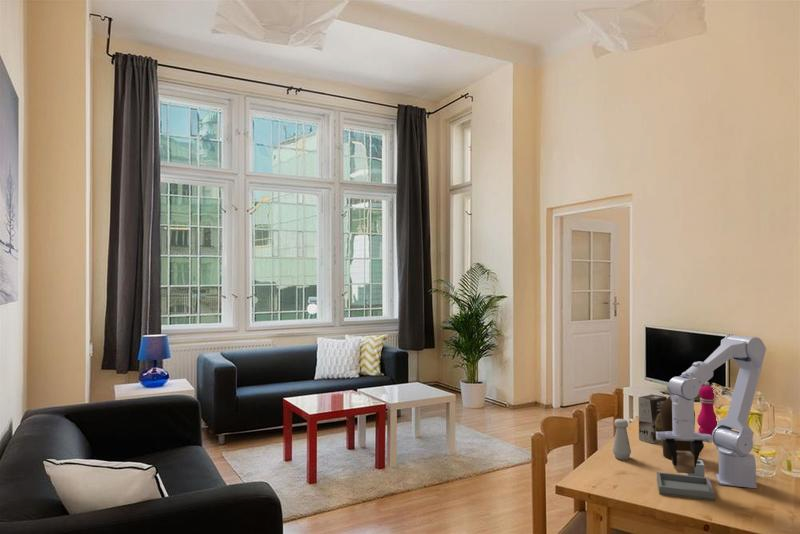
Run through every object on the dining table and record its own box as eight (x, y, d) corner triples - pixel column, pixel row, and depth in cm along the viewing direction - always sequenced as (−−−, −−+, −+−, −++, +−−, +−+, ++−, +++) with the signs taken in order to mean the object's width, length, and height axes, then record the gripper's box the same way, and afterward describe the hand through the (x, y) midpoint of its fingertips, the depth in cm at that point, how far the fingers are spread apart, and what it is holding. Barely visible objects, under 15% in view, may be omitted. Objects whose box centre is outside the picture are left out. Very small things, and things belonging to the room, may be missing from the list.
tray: (708, 485, 165) (708, 477, 165) (715, 500, 154) (714, 492, 154) (656, 479, 171) (656, 471, 171) (659, 494, 159) (659, 486, 160)
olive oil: (663, 460, 187) (661, 386, 187) (659, 450, 197) (658, 379, 197) (698, 463, 183) (697, 387, 183) (693, 453, 193) (691, 381, 193)
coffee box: (654, 444, 204) (653, 400, 204) (638, 439, 209) (637, 396, 210) (668, 439, 209) (667, 396, 209) (652, 435, 214) (651, 393, 215)
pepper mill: (694, 430, 220) (693, 379, 220) (713, 430, 219) (713, 379, 219) (701, 435, 213) (700, 383, 213) (721, 436, 212) (721, 383, 212)
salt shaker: (632, 461, 187) (631, 422, 187) (614, 460, 188) (613, 421, 188) (628, 455, 192) (628, 417, 192) (611, 454, 194) (610, 417, 194)
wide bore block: (702, 476, 172) (702, 460, 172) (704, 481, 168) (704, 465, 168) (686, 474, 174) (686, 458, 174) (687, 479, 170) (687, 463, 170)
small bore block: (690, 468, 164) (690, 451, 164) (694, 473, 160) (694, 456, 160) (673, 467, 165) (673, 450, 165) (677, 472, 161) (677, 455, 161)
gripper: (706, 416, 165) (707, 462, 165) (653, 414, 168) (654, 459, 168) (713, 422, 158) (714, 470, 158) (658, 420, 161) (659, 467, 161)
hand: (683, 465), depth 162 cm, fingers closed on small bore block, 4 cm apart
